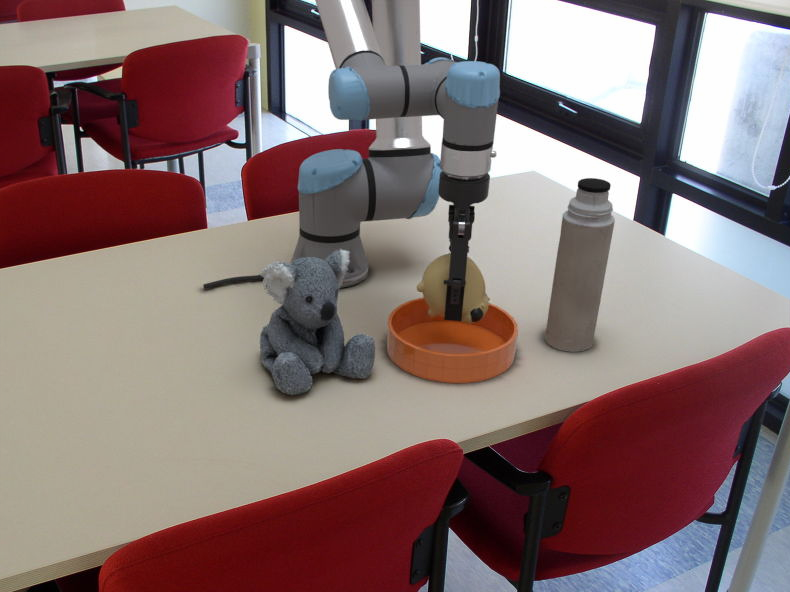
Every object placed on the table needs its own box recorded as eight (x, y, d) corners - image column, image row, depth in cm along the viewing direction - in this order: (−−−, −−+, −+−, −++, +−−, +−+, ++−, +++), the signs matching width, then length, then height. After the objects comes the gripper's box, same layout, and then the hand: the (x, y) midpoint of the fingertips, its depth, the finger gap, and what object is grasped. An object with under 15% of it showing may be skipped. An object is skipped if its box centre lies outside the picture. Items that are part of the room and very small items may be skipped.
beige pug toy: (445, 347, 147) (498, 317, 140) (399, 290, 144) (451, 257, 138) (459, 319, 154) (510, 289, 148) (416, 264, 152) (466, 232, 145)
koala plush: (283, 404, 137) (280, 287, 127) (236, 352, 151) (230, 243, 141) (381, 377, 144) (385, 264, 134) (328, 330, 158) (329, 224, 148)
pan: (382, 378, 144) (383, 350, 141) (391, 317, 162) (392, 292, 159) (517, 387, 141) (521, 359, 139) (511, 324, 159) (514, 299, 157)
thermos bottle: (547, 326, 159) (570, 171, 144) (594, 333, 156) (622, 176, 142) (542, 347, 152) (565, 187, 138) (590, 355, 150) (619, 193, 135)
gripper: (492, 200, 126) (477, 339, 138) (488, 149, 145) (475, 276, 157) (437, 197, 127) (427, 336, 139) (441, 147, 145) (432, 273, 157)
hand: (453, 304), depth 148 cm, fingers closed on beige pug toy, 10 cm apart
